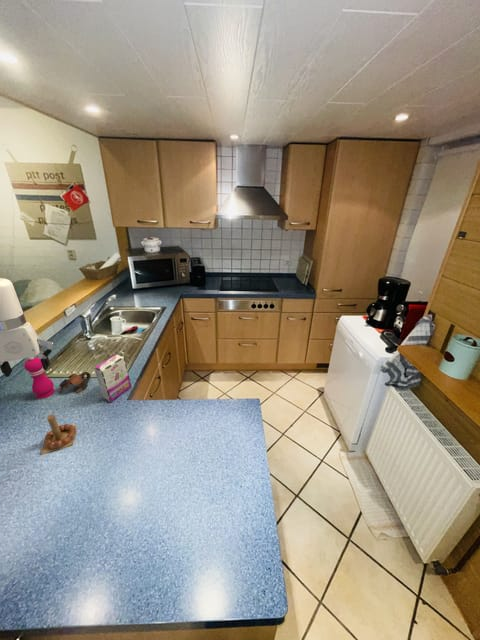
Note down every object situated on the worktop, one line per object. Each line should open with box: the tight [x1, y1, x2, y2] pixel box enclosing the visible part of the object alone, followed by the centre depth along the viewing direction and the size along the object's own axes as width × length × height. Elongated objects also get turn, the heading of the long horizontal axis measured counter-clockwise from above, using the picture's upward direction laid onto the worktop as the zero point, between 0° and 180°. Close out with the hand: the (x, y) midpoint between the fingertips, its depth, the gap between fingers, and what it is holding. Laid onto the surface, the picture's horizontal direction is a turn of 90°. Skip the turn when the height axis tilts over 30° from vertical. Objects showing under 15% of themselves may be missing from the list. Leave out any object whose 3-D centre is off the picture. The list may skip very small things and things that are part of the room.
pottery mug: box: [58, 371, 92, 394], centre depth 111 cm, size 12×10×8 cm
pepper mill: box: [23, 357, 55, 400], centre depth 103 cm, size 7×7×20 cm
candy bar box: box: [93, 354, 132, 403], centre depth 106 cm, size 11×5×16 cm, turn 154°
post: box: [39, 414, 77, 456], centre depth 84 cm, size 9×9×12 cm
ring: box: [43, 423, 77, 449], centre depth 86 cm, size 9×9×2 cm
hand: (28, 370), depth 79 cm, fingers open, 9 cm apart
